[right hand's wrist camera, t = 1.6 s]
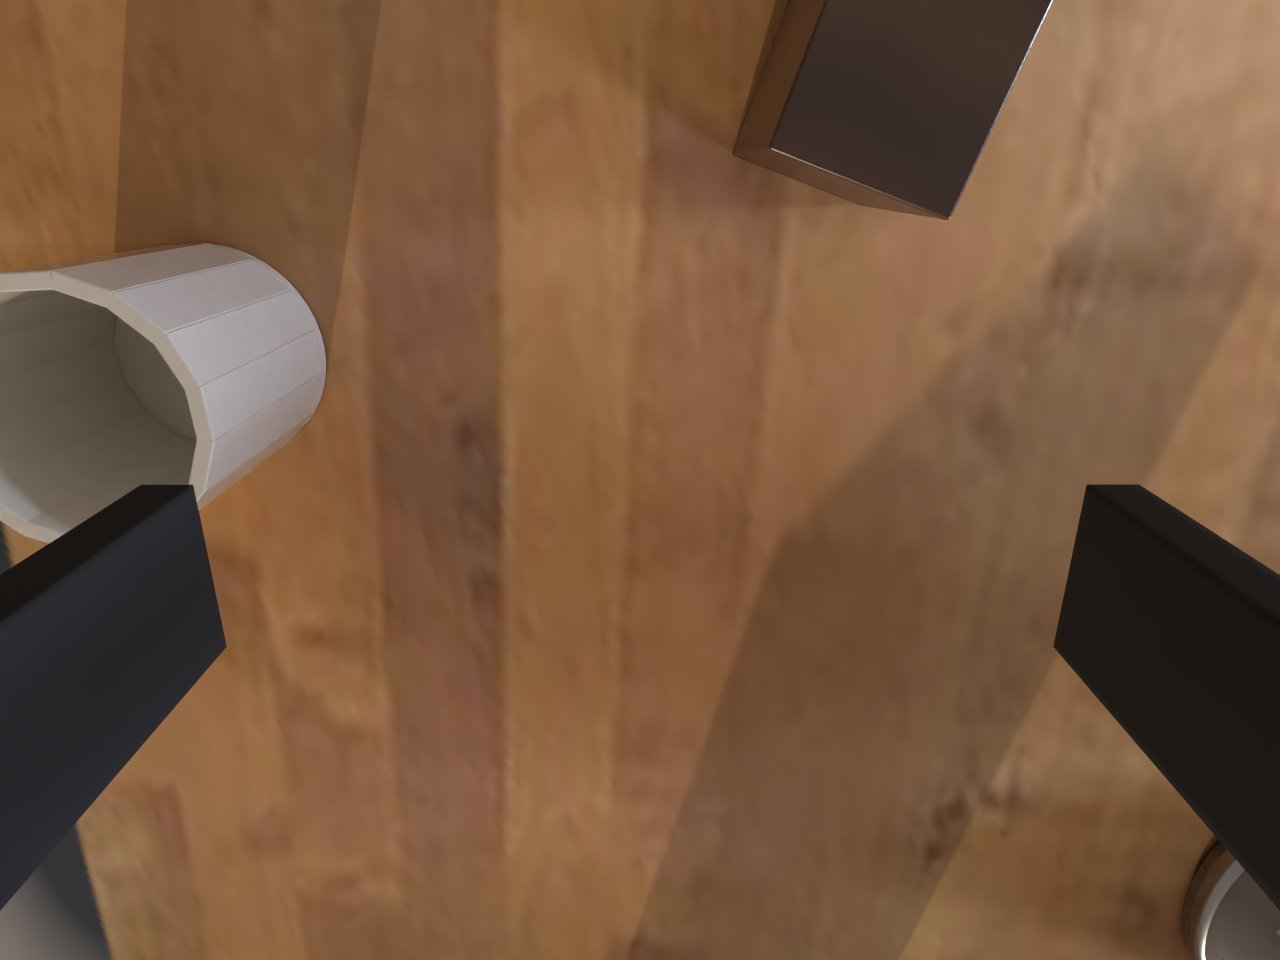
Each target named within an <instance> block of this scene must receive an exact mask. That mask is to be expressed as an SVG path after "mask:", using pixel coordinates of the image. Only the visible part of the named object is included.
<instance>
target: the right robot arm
mask: <svg viewBox="0 0 1280 960" xmlns="http://www.w3.org/2000/svg"><path fill="white" fill-rule="evenodd" d="M225 648H226V642H225V637H224V632H223V627H222V622H221V618H220V613H219V608H218V603H217V598H216V593H215V588H214V583H213V579H212V574H211V569H210V564H209V559H208V554H207V549H206V545H205V540H204V535H203V530H202V525H201V520H200V515H199V510H198V506H197V501H196V496H195V491H194V486H193V485H140V486H138V487H137V488H135V489H133V490H132V491H130V492H129V493H127V494H126V495H124V496H123V497H121V498H119V499H118V500H116V501H115V502H113V503H112V504H110V505H109V506H107V507H105V508H104V509H102V510H101V511H99V512H98V513H96V514H95V515H93V516H91V517H90V518H88V519H87V520H85V521H84V522H82V523H81V524H79V525H77V526H76V527H74V528H73V529H71V530H70V531H68V532H67V533H65V534H63V535H62V536H60V537H59V538H57V539H56V540H54V541H53V542H51V543H49V544H48V545H46V546H45V547H43V548H42V549H40V550H39V551H37V552H35V553H34V554H32V555H31V556H29V557H28V558H26V559H25V560H23V561H21V562H20V563H18V564H17V565H15V566H14V567H12V568H11V569H9V570H7V571H6V572H4V573H3V574H1V575H0V910H1V909H2V908H3V907H4V906H5V904H6V903H7V902H8V901H9V900H10V899H11V898H12V896H13V895H14V894H15V893H16V892H17V891H18V889H19V888H20V887H21V886H22V885H23V883H24V882H25V881H26V880H27V879H28V878H29V876H30V875H31V874H32V873H33V872H34V871H35V869H36V868H37V867H38V866H39V865H40V864H41V862H42V861H43V860H44V859H45V858H46V857H47V855H48V854H49V853H50V852H51V851H52V850H53V849H54V847H55V846H56V845H57V844H58V843H59V841H60V840H61V839H62V838H63V837H64V836H65V835H66V833H67V832H68V831H69V830H70V829H71V828H72V826H73V825H74V824H75V823H76V822H77V821H78V819H79V818H80V817H81V816H82V815H83V814H84V812H85V811H86V810H87V809H88V808H89V807H90V805H91V804H92V803H93V802H94V801H95V800H96V798H97V797H98V796H99V795H100V794H101V792H102V791H103V790H104V789H105V788H106V787H107V785H108V784H109V783H110V782H111V781H112V780H113V778H114V777H115V776H116V775H117V774H118V773H119V771H120V770H121V769H122V768H123V767H124V766H125V764H126V763H127V762H128V761H129V760H130V759H131V757H132V756H133V755H134V754H135V753H136V752H137V750H138V749H139V748H140V747H141V746H142V745H143V743H144V742H145V741H146V740H147V739H148V738H149V736H150V735H151V734H152V733H153V732H154V731H155V729H156V728H157V727H158V726H159V725H160V724H161V722H162V721H163V720H164V719H165V718H166V717H167V715H168V714H169V713H170V712H171V711H172V710H173V708H174V707H175V706H176V705H177V704H178V703H179V701H180V700H181V699H182V698H183V697H184V696H185V694H186V693H187V692H188V691H189V690H190V689H191V687H192V686H193V685H194V684H195V683H196V682H197V680H198V679H199V678H200V677H201V676H202V675H203V673H204V672H205V671H206V670H207V669H208V668H209V666H210V665H211V664H212V663H213V662H214V661H215V659H216V658H217V657H218V656H219V655H220V654H221V652H222V651H223V650H224V649H225ZM1054 648H1055V649H1056V650H1057V651H1058V652H1059V654H1060V655H1061V656H1062V657H1063V658H1064V659H1065V661H1066V662H1067V663H1068V664H1069V665H1070V666H1071V668H1072V669H1073V670H1074V671H1075V672H1076V673H1077V675H1078V676H1079V677H1080V678H1081V679H1082V680H1083V682H1084V683H1085V684H1086V685H1087V686H1088V687H1089V689H1090V690H1091V691H1092V692H1093V693H1094V694H1095V696H1096V697H1097V698H1098V699H1099V700H1100V701H1101V703H1102V704H1103V705H1104V706H1105V707H1106V708H1107V710H1108V711H1109V712H1110V713H1111V714H1112V715H1113V717H1114V718H1115V719H1116V720H1117V721H1118V722H1119V724H1120V725H1121V726H1122V727H1123V728H1124V729H1125V731H1126V732H1127V733H1128V734H1129V735H1130V736H1131V738H1132V739H1133V740H1134V741H1135V742H1136V743H1137V745H1138V746H1139V747H1140V748H1141V749H1142V750H1143V752H1144V753H1145V754H1146V755H1147V756H1148V757H1149V759H1150V760H1151V761H1152V762H1153V763H1154V764H1155V766H1156V767H1157V768H1158V769H1159V770H1160V771H1161V773H1162V774H1163V775H1164V776H1165V777H1166V778H1167V780H1168V781H1169V782H1170V783H1171V784H1172V785H1173V787H1174V788H1175V789H1176V790H1177V791H1178V792H1179V794H1180V795H1181V796H1182V797H1183V798H1184V800H1185V801H1186V802H1187V803H1188V804H1189V805H1190V807H1191V808H1192V809H1193V810H1194V811H1195V812H1196V814H1197V815H1198V816H1199V817H1200V818H1201V819H1202V821H1203V822H1204V823H1205V824H1206V825H1207V826H1208V828H1209V829H1210V830H1211V831H1212V832H1213V833H1214V835H1215V836H1216V837H1217V838H1218V839H1219V840H1220V842H1219V843H1218V844H1217V845H1216V846H1215V847H1214V849H1213V850H1212V851H1211V852H1210V853H1209V855H1208V856H1207V857H1206V859H1205V860H1204V861H1203V863H1202V864H1201V866H1200V867H1199V869H1198V871H1197V872H1196V874H1195V876H1194V878H1193V880H1192V882H1191V884H1190V887H1189V889H1188V892H1187V895H1186V898H1185V901H1184V906H1183V912H1182V934H1183V939H1184V943H1185V947H1186V949H1187V952H1188V954H1189V956H1190V958H1191V960H1280V575H1279V574H1277V573H1276V572H1274V571H1273V570H1271V569H1269V568H1268V567H1266V566H1265V565H1263V564H1262V563H1260V562H1259V561H1257V560H1255V559H1254V558H1252V557H1251V556H1249V555H1248V554H1246V553H1245V552H1243V551H1241V550H1240V549H1238V548H1237V547H1235V546H1234V545H1232V544H1231V543H1229V542H1227V541H1226V540H1224V539H1223V538H1221V537H1220V536H1218V535H1217V534H1215V533H1213V532H1212V531H1210V530H1209V529H1207V528H1206V527H1204V526H1203V525H1201V524H1199V523H1198V522H1196V521H1195V520H1193V519H1192V518H1190V517H1189V516H1187V515H1185V514H1184V513H1182V512H1181V511H1179V510H1178V509H1176V508H1175V507H1173V506H1171V505H1170V504H1168V503H1167V502H1165V501H1164V500H1162V499H1161V498H1159V497H1157V496H1156V495H1154V494H1153V493H1151V492H1150V491H1148V490H1147V489H1145V488H1143V487H1142V486H1140V485H1087V486H1086V491H1085V496H1084V501H1083V506H1082V510H1081V515H1080V520H1079V525H1078V530H1077V535H1076V540H1075V545H1074V549H1073V554H1072V559H1071V564H1070V569H1069V574H1068V579H1067V583H1066V588H1065V593H1064V598H1063V603H1062V608H1061V613H1060V618H1059V622H1058V627H1057V632H1056V637H1055V642H1054Z"/></svg>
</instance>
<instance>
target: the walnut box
mask: <svg viewBox="0 0 1280 960" xmlns="http://www.w3.org/2000/svg"><path fill="white" fill-rule="evenodd" d="M1052 2H1053V0H789V2H788V5H787V7H786V10H785V13H784V15H783V18H782V21H781V23H780V26H779V29H778V31H777V34H776V37H775V39H774V42H773V45H772V47H771V50H770V53H769V55H768V58H767V61H766V63H765V66H764V69H763V71H762V74H761V77H760V80H759V82H758V85H757V88H756V90H755V93H754V96H753V98H752V101H751V104H750V106H749V109H748V112H747V114H746V117H745V120H744V122H743V125H742V128H741V130H740V133H739V136H738V138H737V141H736V144H735V147H734V149H733V155H734V156H736V157H739V158H741V159H744V160H746V161H749V162H751V163H754V164H757V165H759V166H762V167H764V168H767V169H769V170H772V171H774V172H777V173H779V174H782V175H784V176H787V177H790V178H792V179H795V180H797V181H800V182H802V183H805V184H807V185H810V186H812V187H815V188H817V189H820V190H823V191H825V192H828V193H830V194H833V195H835V196H838V197H840V198H843V199H845V200H848V201H850V202H853V203H856V204H858V205H861V206H867V207H873V208H879V209H885V210H891V211H896V212H902V213H908V214H914V215H920V216H926V217H932V218H938V219H944V220H949V219H950V218H951V216H952V214H953V212H954V210H955V207H956V205H957V203H958V201H959V199H960V197H961V195H962V193H963V190H964V188H965V186H966V184H967V182H968V180H969V178H970V176H971V174H972V171H973V169H974V167H975V165H976V163H977V161H978V159H979V157H980V154H981V152H982V150H983V148H984V146H985V144H986V142H987V140H988V137H989V135H990V133H991V131H992V129H993V127H994V125H995V123H996V121H997V118H998V116H999V114H1000V112H1001V110H1002V108H1003V106H1004V104H1005V101H1006V99H1007V97H1008V95H1009V93H1010V91H1011V89H1012V87H1013V84H1014V82H1015V80H1016V78H1017V76H1018V74H1019V72H1020V70H1021V67H1022V65H1023V63H1024V61H1025V59H1026V57H1027V55H1028V53H1029V51H1030V48H1031V46H1032V44H1033V42H1034V40H1035V38H1036V36H1037V34H1038V31H1039V29H1040V27H1041V25H1042V23H1043V21H1044V19H1045V17H1046V14H1047V12H1048V10H1049V8H1050V6H1051V4H1052Z"/></svg>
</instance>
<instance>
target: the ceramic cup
mask: <svg viewBox="0 0 1280 960" xmlns="http://www.w3.org/2000/svg"><path fill="white" fill-rule="evenodd" d="M325 378H326V357H325V348H324V344H323V340H322V336H321V333H320V330H319V328H318V325H317V322H316V320H315V318H314V316H313V314H312V312H311V310H310V309H309V307H308V305H307V304H306V302H305V301H304V300H303V298H302V297H301V295H300V294H299V293H298V292H297V291H296V289H295V288H294V287H293V286H292V285H291V284H290V283H289V282H288V281H287V280H286V279H285V278H284V277H283V276H282V275H281V274H280V273H279V272H277V271H276V270H274V269H273V268H272V267H270V266H269V265H268V264H266V263H265V262H263V261H261V260H259V259H257V258H256V257H254V256H252V255H250V254H247V253H245V252H243V251H240V250H238V249H234V248H231V247H227V246H224V245H217V244H211V243H189V244H181V245H164V246H157V247H151V248H145V249H139V250H133V251H126V252H120V253H114V254H108V255H101V256H95V257H89V258H83V259H76V260H70V261H64V262H58V263H51V264H45V265H39V266H33V267H27V268H20V269H14V270H8V271H2V272H0V521H2V522H3V523H4V524H6V525H7V526H9V527H10V528H12V529H13V530H15V531H16V532H18V533H19V534H23V536H26V537H30V538H33V539H36V540H39V541H43V542H46V543H51V542H53V541H54V540H56V539H57V538H59V537H60V536H62V535H63V534H65V533H67V532H68V531H70V530H71V529H73V528H74V527H76V526H77V525H79V524H81V523H82V522H84V521H85V520H87V519H88V518H90V517H91V516H93V515H95V514H96V513H98V512H99V511H101V510H102V509H104V508H105V507H107V506H109V505H110V504H112V503H113V502H115V501H116V500H118V499H119V498H121V497H123V496H124V495H126V494H127V493H129V492H130V491H132V490H133V489H135V488H137V487H138V486H140V485H193V486H194V491H195V496H196V501H197V506H198V510H201V509H202V508H203V507H205V506H206V505H207V504H208V503H210V502H211V501H212V500H214V499H215V498H216V497H218V496H219V495H220V494H221V493H223V492H224V491H225V490H227V489H228V488H229V487H231V486H232V485H233V484H234V483H236V482H237V481H238V480H240V479H241V478H242V477H244V476H245V475H246V474H247V473H249V472H250V471H251V470H253V469H254V468H255V467H256V466H258V465H259V464H260V463H262V462H263V461H264V460H266V459H267V458H268V457H269V456H271V455H272V454H273V453H275V452H276V451H277V450H279V449H280V448H281V447H282V446H284V445H285V444H286V443H288V442H289V441H290V440H291V439H292V438H293V437H294V435H295V434H296V433H297V432H298V431H300V430H301V428H302V427H303V426H304V425H305V424H306V423H307V422H308V421H309V419H310V418H311V416H312V415H313V413H314V412H315V410H316V408H317V406H318V404H319V402H320V399H321V396H322V393H323V389H324V384H325Z"/></svg>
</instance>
